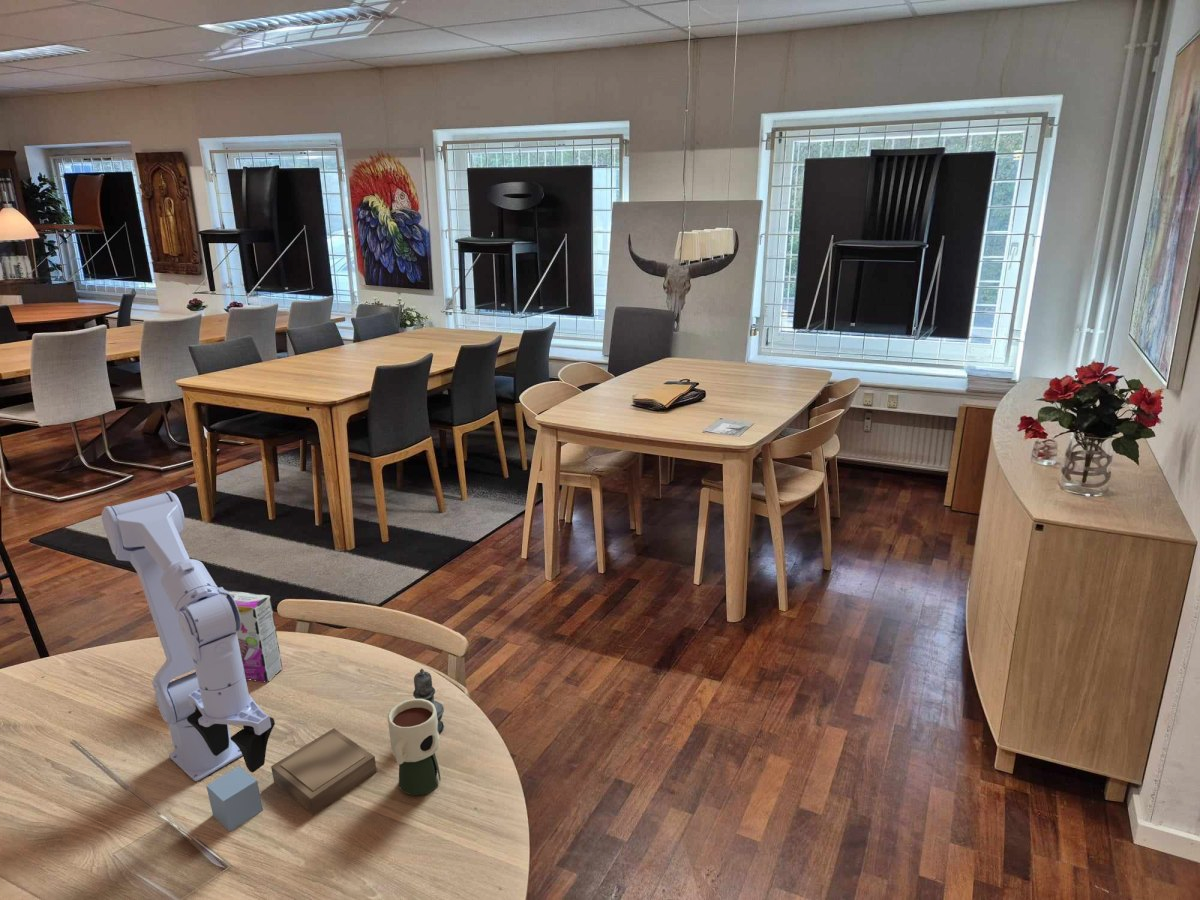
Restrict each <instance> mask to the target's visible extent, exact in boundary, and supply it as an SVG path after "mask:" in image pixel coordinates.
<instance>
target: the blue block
mask: <svg viewBox="0 0 1200 900" xmlns="http://www.w3.org/2000/svg"><path fill="white" fill-rule="evenodd" d="M205 787H206V791H207V795H208V799H209V804H210V809H211V813H212V816H213V817H214V818H215V819H216V820H217V821H218V822H219V823H220V824H221V825H222V826H223V827H224V828H225V829H226V830H227V831H228V832H232V831H234V830H235V829H236V828H238V827H240V826H241V825H242V824H244V823H246V822H247V821H249V820H250V819H252V818H254V817H255V816H257V815H258V814H259V813H261V812H262V811H264V808H263V803H262V799H261V793H260V787H259V784H258V780H257V779H256V778H255V777H254V776H253V775H251V774H250V773H249V772H248V771H246V770H245V769H244V768H243V766H241V765H239V766H237V767H235V768H234V769H231V770H230V771H229V772H227V773H225V774H224V775H222V776H220V777H217V779H215V780H213V781H211V782H209V783H208V784H207V785H205Z"/></svg>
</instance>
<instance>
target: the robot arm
mask: <svg viewBox="0 0 1200 900" xmlns="http://www.w3.org/2000/svg"><path fill="white" fill-rule="evenodd" d="M101 521H102V524H103V529H104V531H105V534H106V538H107V541H108V543H109V546H110V549H111V552H112V554H113V555H114V556H115V559H116V560H117V561H124V562H125V561H126V562H130V564H131V565H132V567H133V569H135V571H136V574H137V577H138V578H139V582H140V585H141V587H142V591H143V594H144V596H145V598H146V599H145V600H146V602H147V606H148V609H149V612H150V615H151V618H152V620H153V622H154V626H155V629H156V633H157V635H158V638H159V641H160V644H161V647H162V649H163V652H164V656H165V661H164V663H163V664H162V665H161V667H160V668H159V670H157V671H156V673H155V674H154V677H153V680H152V686H153V689H154V696H155V700H156V704H157V709H158V710H159V713H160V715H161V717H162V719H163V721H164V722H165V723H166V724H168V728H169V732H170V736H171V741H172V743H173V749H174V751H172V752H171V753H169V755H168V757H169V759H170V760H171V761H173V763H175V764H176V765H177V766H178V767H179V768H180V769H181V770H182V771H183V772H185V773H186V774H187V775H188V777H190V779H191V780H193V781H194V782H198V781H200V780H202V779H204V778H205V777H207V776H209V775H210V774H212V773H214V772H216V771H218V770H220V769H221V768H223V767H225V766H226V765H228V764H230V763H231V762H233V761H235V760H237V759H239V758H241V757H243V760H244V763H245V766H246V768H247V770H248V771H249V772H250V773H255V772H256V771H257V770H259V769H260V768H261V767H263V766H264V765H265V761H266V755H267V754H266V753H267V746H268V741H269V738H270V736H271V732H272V730H273V728H274V726H275V725H276V724H275V723H276V722H275V719H274V717H271V716H270V715H269V714H267V713H265V712H264V711H263V710H262V709H261V708H260V706H259V705H258V703H256V702H255V700H254V698H252V696H251V695H250V694H249V693H250V692H249V688H248V684H247V680H246V678H245V673H244V667H243V662H242V657H241V652H240V647H239V642H238V637H237V633H236V630H238V631H239V630H241V617H240V613H239V610H238V607H237V605H236V603H235V601H234V599H233V597H232V595H231V594H230V593H229V592H228V591H226V590H227V589H225V588H224V587H223V586H219V587H218V585H217V584H216V582H215V581H214V579H213V577H212V576H211V574H210V573H209V571H208V569H207V568H206V566H205V565H204V563H203V562H201V561H200V560H198V559H193V558H192V559H191V558H190V556H189V554H188V551H187V550H186V548H185V545H184V542H183V540H182V535H183V531H184V526H185V522H186V520H185V514H184V509H183V506H182V503H181V501H180V499H179V497H178V496H177V494H176V493H174V492H172V491H170V490H168V491H165V492H163V493H160V494H155V495H151V496H147V497H144V498H139V499H135V500H131V501H126V502H123V503H118V504H116V505H112V506H110V505H107V506H104V507H103V510H102V511H101ZM192 671H194V672H192ZM189 672H191V673H190V674H188V673H189ZM185 674H187V675H185ZM183 675H184V676H183ZM180 676H182V677H180ZM177 677H179V678H177ZM176 678H177V679H176ZM229 725H231V726H242V727H243V728H242V729H240V730H239V731H237V732H235V734H233V735H231V730H230V726H229Z"/></svg>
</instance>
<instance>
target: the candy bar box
mask: <svg viewBox="0 0 1200 900" xmlns="http://www.w3.org/2000/svg"><path fill="white" fill-rule="evenodd" d="M225 590H226V591H228V592H229V593H230V594H231V595H232V597H233V599H234V601H235V603H236V605H237V607H238V610H239V613H240V617H241V630H239V631H238V630H236V633H237V637H238V642H239V647H240V652H241V657H242V662H243V667H244V673H245V678H246V679H251V680H250V681H252V680H256V681H255V682H259V681H265V682H268V681H269V680H270V679H271V678H272V677H273V676H274V675H275V674H276V673H277V672H278V671H280V670H281V669H282V668H283V664H282V658H281V657H282V656H281V652H280V645H279V640H278V634H277V629H276V622H275V617H274V613H273V605H272V600H271V596H270V595H266V594H259V593H252V592H251V593H250V592H243V591H237V590H236V591H235V590H230V589H229V590H228V589H225ZM282 670H283V669H282ZM282 670H281V671H282ZM281 671H280V672H281ZM265 682H264V683H265ZM269 682H270V681H269ZM269 682H268V683H269Z"/></svg>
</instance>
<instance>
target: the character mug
mask: <svg viewBox="0 0 1200 900" xmlns="http://www.w3.org/2000/svg"><path fill="white" fill-rule="evenodd" d="M387 723H388V732H389V740H390V746H391V748H390V749H391V753H392V755H393V757H395V761H396V764H397V765H399V766H398V788H399V789H400V790H401V791H402V792H404V793H406V794H408V795H411V796H413V795H414V796H423V795H425V794H429V793H431V792H432V791H433V790H435V789H436V788H437V786H438V782H437V777H438V779H439V782H441V771H440V767H439V763H438V760H437V757H436V756H437V755H436V752H437V751H438V750H439V745H440V742H441V741H440V740H441V738H440V734H439V733H438V730H437V727H438V719H437V712H436V708H435V705H434V704H433V703H431V702H430V701H428V700H425V699H415V698H411V699H407V700H403V701H402V702H399V703H397V704H396V705H395V706H393V707H392V708H391V709H390V710H389V713H388V715H387Z"/></svg>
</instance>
